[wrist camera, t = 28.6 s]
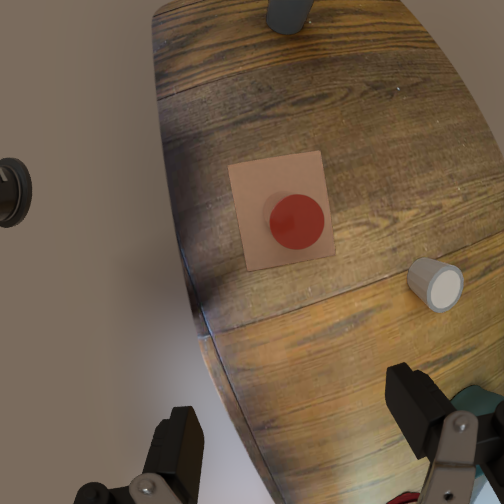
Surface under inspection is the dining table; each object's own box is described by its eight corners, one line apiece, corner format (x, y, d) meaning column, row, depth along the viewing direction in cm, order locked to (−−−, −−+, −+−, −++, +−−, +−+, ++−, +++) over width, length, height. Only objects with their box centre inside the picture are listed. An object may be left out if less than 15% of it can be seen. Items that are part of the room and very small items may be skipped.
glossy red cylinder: (266, 236, 40) (274, 254, 30) (259, 194, 38) (264, 199, 29) (307, 228, 40) (328, 244, 30) (301, 187, 38) (320, 190, 29)
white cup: (414, 247, 41) (439, 258, 34) (444, 261, 42) (470, 273, 35) (396, 289, 42) (419, 307, 36) (427, 300, 43) (451, 317, 36)
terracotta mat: (247, 271, 41) (247, 271, 41) (227, 165, 38) (227, 165, 37) (334, 254, 41) (335, 255, 40) (319, 150, 38) (320, 150, 37)
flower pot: (486, 356, 47) (533, 398, 30) (493, 398, 51) (528, 436, 34) (422, 410, 49) (458, 465, 32) (437, 443, 53) (466, 489, 36)
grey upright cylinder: (269, 36, 34) (277, -1, 24) (262, 7, 33) (267, -32, 23) (308, 33, 34) (325, -2, 24) (299, 4, 32) (312, -33, 23)
